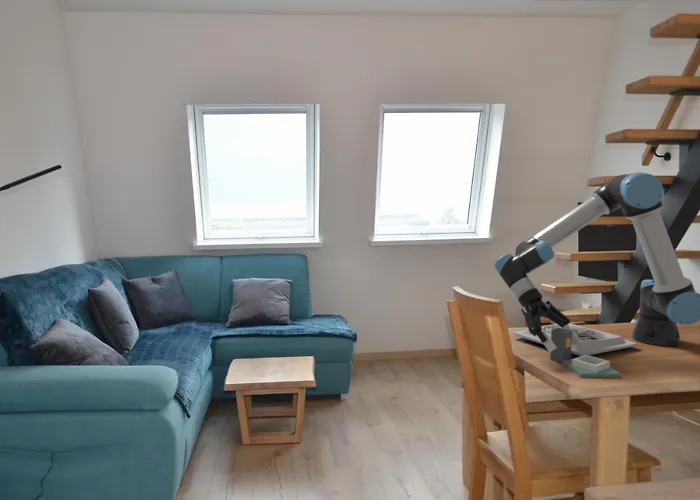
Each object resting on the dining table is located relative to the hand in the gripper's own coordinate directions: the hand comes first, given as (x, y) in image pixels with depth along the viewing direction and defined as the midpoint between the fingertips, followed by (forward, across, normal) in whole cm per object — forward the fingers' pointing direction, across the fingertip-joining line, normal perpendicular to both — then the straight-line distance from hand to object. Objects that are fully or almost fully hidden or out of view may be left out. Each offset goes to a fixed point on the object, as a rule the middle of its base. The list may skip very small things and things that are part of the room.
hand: (565, 346), depth 155 cm
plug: (+2, 0, -5) cm, 5 cm away
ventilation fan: (-3, -21, -10) cm, 24 cm away
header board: (+10, +1, +3) cm, 10 cm away
